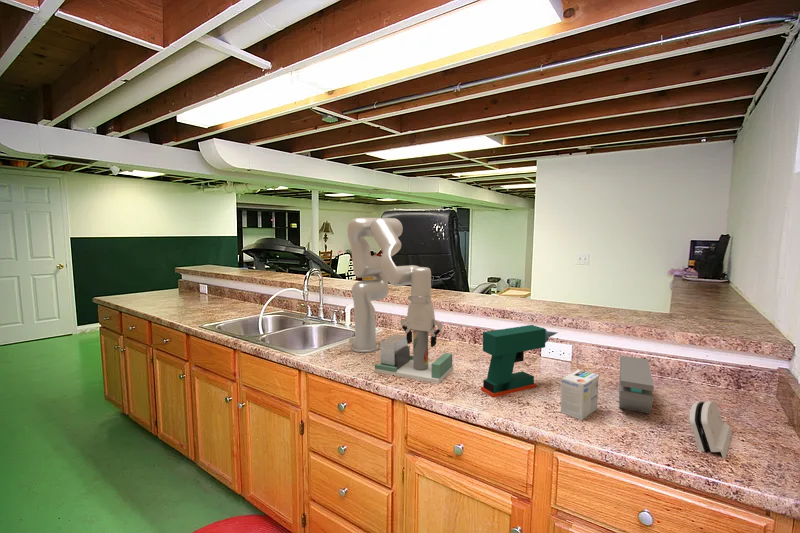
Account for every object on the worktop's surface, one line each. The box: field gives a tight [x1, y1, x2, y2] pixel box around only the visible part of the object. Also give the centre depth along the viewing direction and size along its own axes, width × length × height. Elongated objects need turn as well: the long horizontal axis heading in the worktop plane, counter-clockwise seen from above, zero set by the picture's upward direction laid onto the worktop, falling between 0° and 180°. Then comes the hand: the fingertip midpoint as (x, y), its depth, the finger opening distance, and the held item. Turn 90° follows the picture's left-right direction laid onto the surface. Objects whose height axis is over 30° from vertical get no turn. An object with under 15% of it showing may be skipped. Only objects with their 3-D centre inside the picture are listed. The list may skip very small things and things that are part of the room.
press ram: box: [379, 333, 411, 370], centre depth 150 cm, size 7×12×10 cm, turn 153°
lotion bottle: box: [412, 330, 429, 370], centre depth 145 cm, size 6×6×20 cm
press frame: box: [374, 352, 454, 385], centre depth 147 cm, size 26×16×6 cm, turn 63°
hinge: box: [689, 400, 733, 459], centre depth 97 cm, size 17×5×10 cm, turn 135°
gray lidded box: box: [618, 355, 655, 414], centre depth 118 cm, size 25×8×11 cm, turn 150°
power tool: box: [480, 324, 559, 398], centre depth 132 cm, size 32×7×20 cm, turn 115°
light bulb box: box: [560, 369, 600, 421], centre depth 113 cm, size 11×7×11 cm, turn 131°
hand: (421, 344), depth 145 cm, fingers open, 9 cm apart
